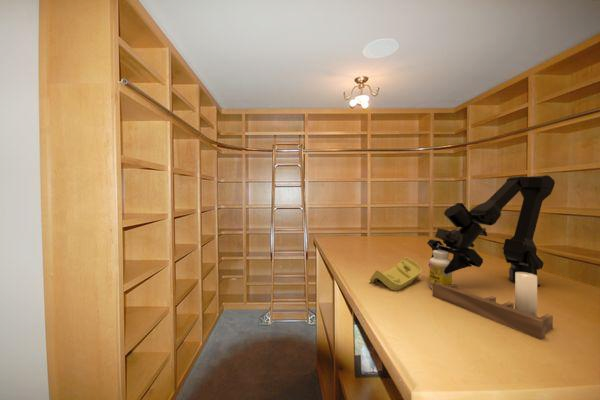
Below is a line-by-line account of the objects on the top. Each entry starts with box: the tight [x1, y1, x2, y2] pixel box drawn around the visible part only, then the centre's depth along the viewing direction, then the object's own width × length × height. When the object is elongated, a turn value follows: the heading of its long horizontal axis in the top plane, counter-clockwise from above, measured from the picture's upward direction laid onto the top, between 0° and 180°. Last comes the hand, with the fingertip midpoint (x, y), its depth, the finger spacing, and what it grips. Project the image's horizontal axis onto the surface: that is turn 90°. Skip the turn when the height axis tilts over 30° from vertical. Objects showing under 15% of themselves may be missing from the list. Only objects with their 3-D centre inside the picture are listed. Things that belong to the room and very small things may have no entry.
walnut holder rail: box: [431, 282, 554, 340], centre depth 65 cm, size 8×26×4 cm, turn 26°
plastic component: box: [369, 256, 423, 292], centre depth 88 cm, size 20×7×10 cm
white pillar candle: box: [514, 272, 538, 317], centre depth 59 cm, size 4×4×12 cm
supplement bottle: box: [428, 250, 453, 289], centre depth 80 cm, size 7×7×13 cm
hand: (436, 269), depth 80 cm, fingers closed on supplement bottle, 7 cm apart
